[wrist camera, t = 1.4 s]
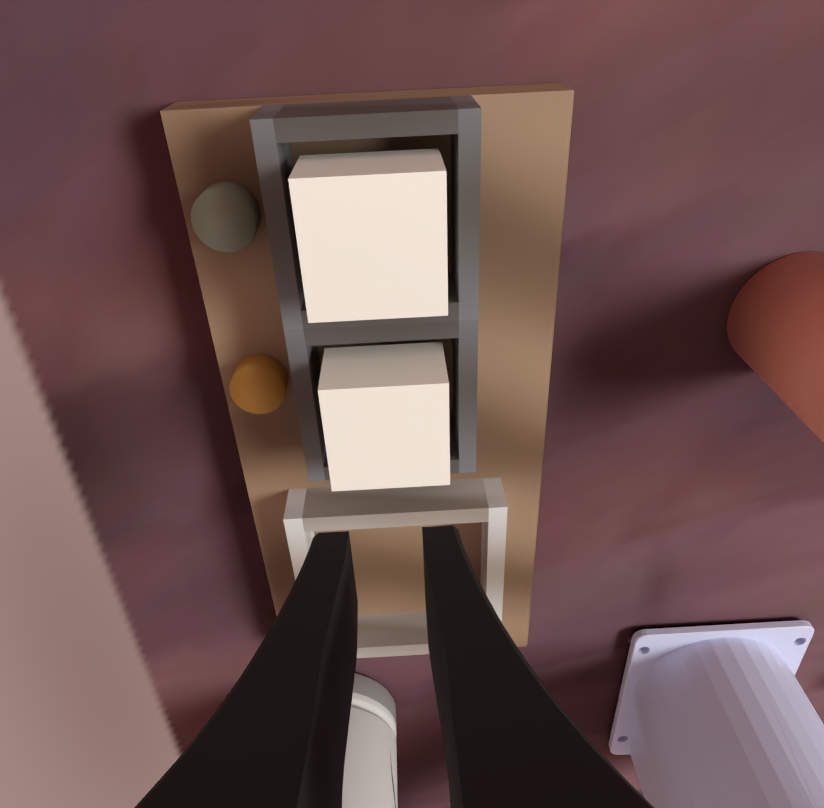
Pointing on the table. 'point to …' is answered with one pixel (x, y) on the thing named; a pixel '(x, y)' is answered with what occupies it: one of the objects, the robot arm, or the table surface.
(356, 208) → the block
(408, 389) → the block
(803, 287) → the cap
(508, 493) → the board
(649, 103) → the table surface
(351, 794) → the travel mug
